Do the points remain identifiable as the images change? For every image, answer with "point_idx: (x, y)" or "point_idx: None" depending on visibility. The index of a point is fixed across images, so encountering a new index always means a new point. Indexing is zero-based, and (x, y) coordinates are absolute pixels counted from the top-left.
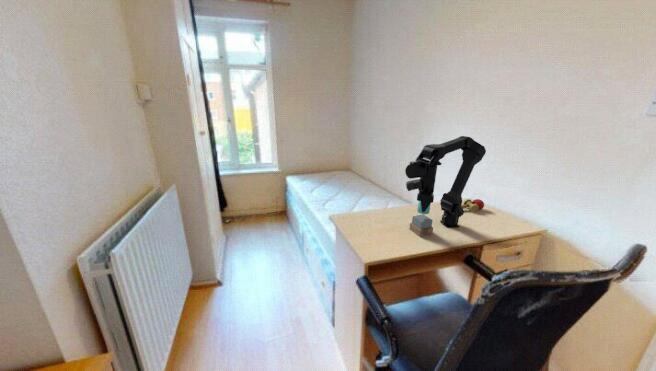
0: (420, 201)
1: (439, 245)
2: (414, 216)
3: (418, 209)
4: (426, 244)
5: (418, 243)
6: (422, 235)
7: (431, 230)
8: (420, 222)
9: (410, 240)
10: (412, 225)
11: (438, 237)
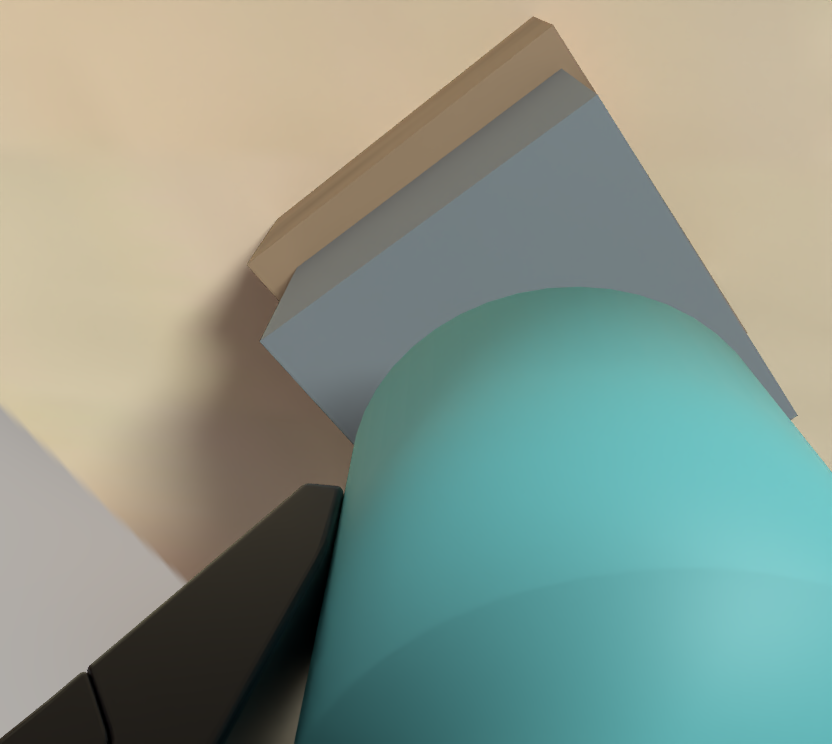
0: (755, 683)
1: (127, 495)
2: (585, 154)
3: (454, 369)
4: (55, 324)
5: (14, 196)
6: None
7: None
8: (290, 309)
9: (45, 45)
10: (466, 88)
11: None
